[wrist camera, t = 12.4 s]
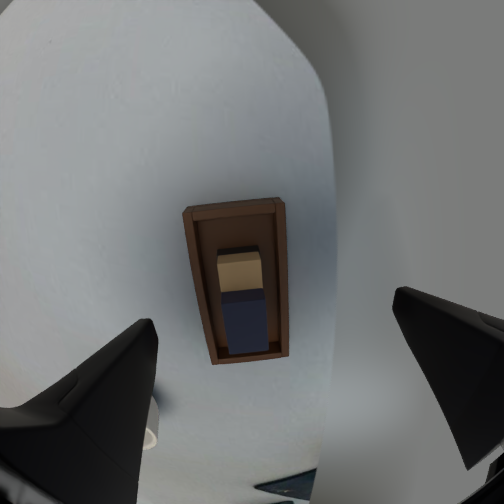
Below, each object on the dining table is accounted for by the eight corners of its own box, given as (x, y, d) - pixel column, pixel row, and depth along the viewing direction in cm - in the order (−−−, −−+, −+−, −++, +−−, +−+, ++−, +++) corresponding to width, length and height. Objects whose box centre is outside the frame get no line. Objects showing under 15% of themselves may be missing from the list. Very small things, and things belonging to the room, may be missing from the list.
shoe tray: (279, 197, 18) (285, 202, 16) (284, 341, 22) (289, 356, 21) (186, 206, 18) (181, 213, 16) (212, 349, 22) (211, 365, 20)
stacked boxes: (263, 317, 21) (270, 351, 17) (227, 321, 21) (228, 356, 17) (258, 244, 19) (265, 269, 15) (216, 249, 18) (214, 274, 15)
